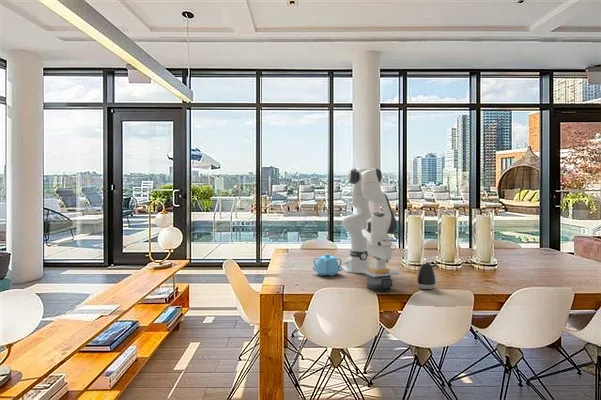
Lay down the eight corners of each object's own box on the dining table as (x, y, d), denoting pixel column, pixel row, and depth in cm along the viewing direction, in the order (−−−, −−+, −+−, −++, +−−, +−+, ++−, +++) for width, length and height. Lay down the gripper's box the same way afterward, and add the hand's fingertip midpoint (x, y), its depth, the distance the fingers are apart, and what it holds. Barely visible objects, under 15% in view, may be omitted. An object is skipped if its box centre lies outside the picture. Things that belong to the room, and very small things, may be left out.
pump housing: (372, 269, 246) (372, 257, 246) (385, 267, 250) (385, 256, 249) (376, 270, 242) (376, 259, 241) (390, 269, 245) (390, 257, 245)
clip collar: (368, 270, 247) (368, 267, 247) (381, 269, 250) (381, 266, 250) (375, 273, 240) (375, 270, 240) (389, 271, 243) (389, 269, 243)
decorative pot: (344, 275, 278) (344, 255, 278) (323, 278, 271) (322, 257, 270) (331, 271, 293) (331, 251, 292) (311, 273, 286) (310, 253, 285)
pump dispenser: (435, 291, 236) (435, 264, 236) (416, 290, 240) (416, 263, 240) (436, 287, 246) (436, 261, 245) (418, 285, 250) (418, 260, 249)
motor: (359, 286, 250) (359, 269, 250) (383, 283, 256) (383, 267, 255) (376, 294, 233) (376, 276, 233) (400, 291, 239) (400, 273, 239)
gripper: (364, 239, 253) (364, 262, 253) (383, 244, 234) (383, 269, 234) (374, 238, 255) (374, 261, 256) (393, 243, 236) (393, 268, 237)
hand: (378, 265), depth 245 cm, fingers closed on pump housing, 5 cm apart
